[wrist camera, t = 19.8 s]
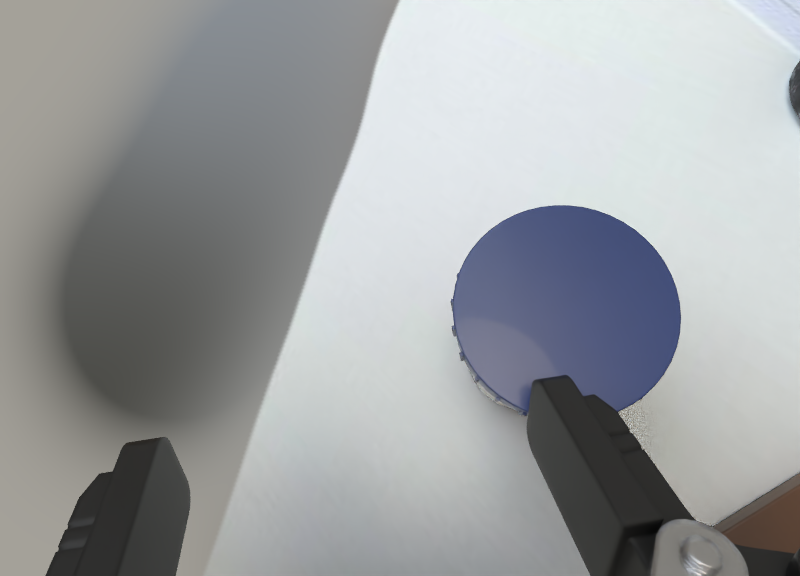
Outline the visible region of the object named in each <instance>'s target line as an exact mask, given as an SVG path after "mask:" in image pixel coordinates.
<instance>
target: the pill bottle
mask: <svg viewBox="0 0 800 576" xmlns="http://www.w3.org/2000/svg"><path fill="white" fill-rule="evenodd" d="M789 86H790V89H789V93H790V98H791V103H792V106H793V108H794V110H795V112H796V114H797V115H798V117H799V118H800V61H799V63H798V64H797V66H796V67H795V69H794V71H793V73H792V76H791V78H790V82H789Z"/></svg>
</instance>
